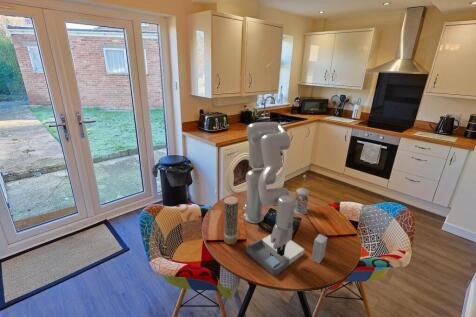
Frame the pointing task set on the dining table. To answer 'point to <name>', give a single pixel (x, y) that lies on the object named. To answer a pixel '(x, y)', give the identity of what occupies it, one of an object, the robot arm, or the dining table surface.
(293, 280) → the dining table surface
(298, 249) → the board
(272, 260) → the tile
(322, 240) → the skincare box
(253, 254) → the tray
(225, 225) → the paper tube
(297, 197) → the french press
